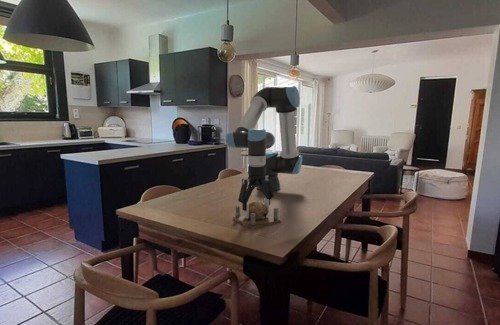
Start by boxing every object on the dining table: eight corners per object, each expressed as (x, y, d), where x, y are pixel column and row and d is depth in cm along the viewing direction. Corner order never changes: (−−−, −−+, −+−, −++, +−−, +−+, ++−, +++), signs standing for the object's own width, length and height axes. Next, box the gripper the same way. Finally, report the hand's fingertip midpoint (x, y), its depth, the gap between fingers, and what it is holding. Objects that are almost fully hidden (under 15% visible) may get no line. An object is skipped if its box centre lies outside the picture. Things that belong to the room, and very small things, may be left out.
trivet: (233, 219, 126) (233, 205, 125) (260, 213, 134) (260, 200, 133) (252, 230, 114) (252, 215, 113) (280, 222, 122) (280, 208, 121)
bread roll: (256, 228, 119) (263, 213, 116) (238, 214, 123) (244, 199, 120) (267, 221, 127) (274, 207, 124) (250, 208, 131) (256, 194, 128)
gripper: (238, 169, 111) (239, 223, 114) (282, 164, 123) (281, 212, 127) (229, 166, 117) (229, 217, 120) (272, 161, 129) (271, 208, 133)
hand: (256, 215), depth 124 cm, fingers closed on bread roll, 10 cm apart
